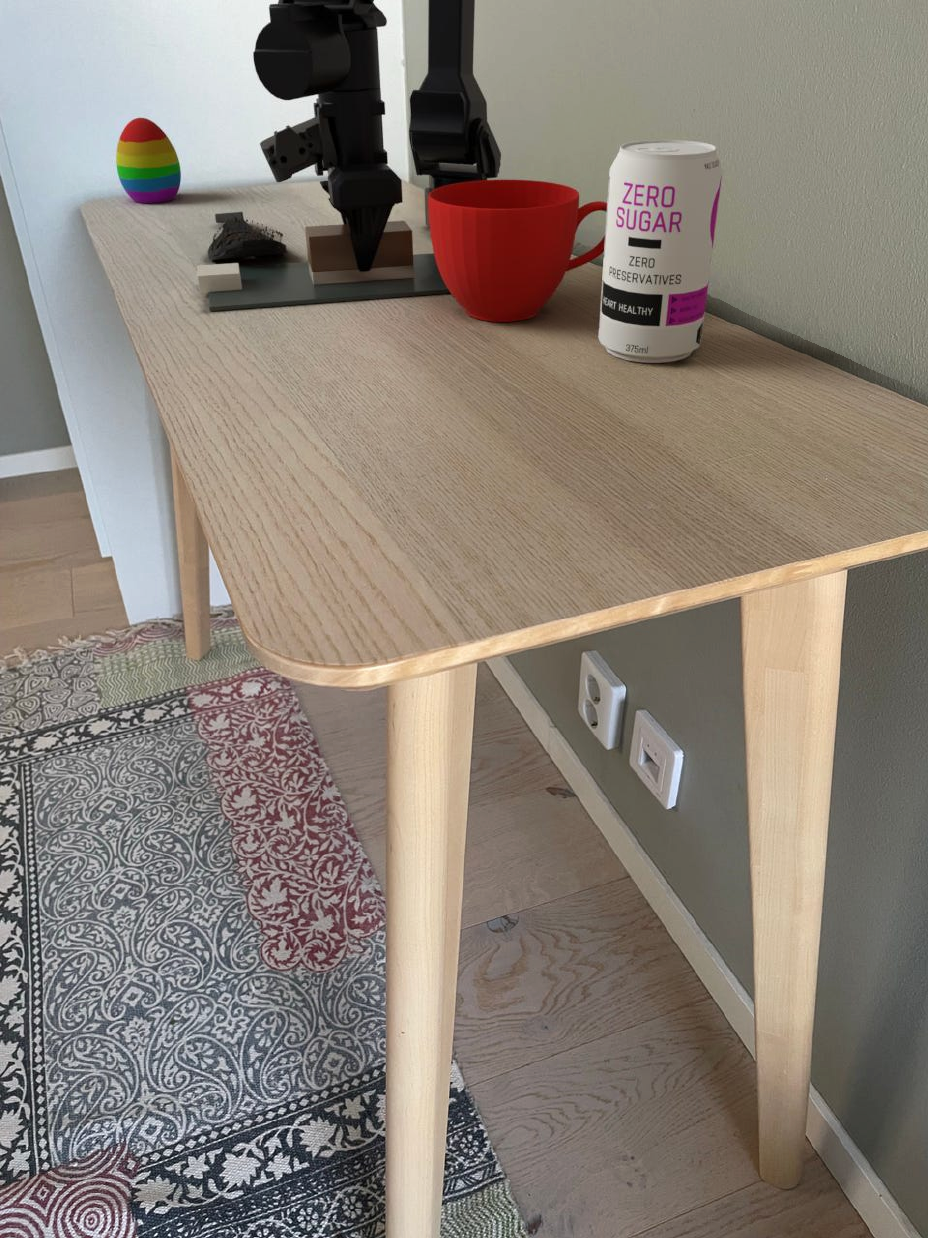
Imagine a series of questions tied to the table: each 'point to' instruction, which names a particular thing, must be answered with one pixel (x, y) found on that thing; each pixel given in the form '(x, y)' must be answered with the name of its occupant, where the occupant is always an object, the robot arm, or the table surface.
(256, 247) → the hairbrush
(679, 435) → the table surface
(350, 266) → the eraser
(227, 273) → the chalk
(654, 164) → the white soda can
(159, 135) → the decorative egg
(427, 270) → the slate board
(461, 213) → the ceramic cup
